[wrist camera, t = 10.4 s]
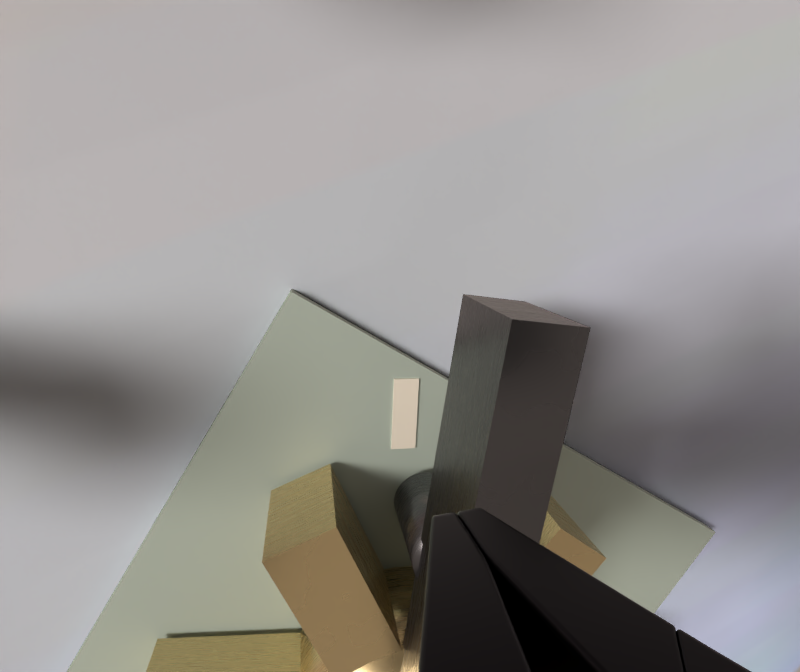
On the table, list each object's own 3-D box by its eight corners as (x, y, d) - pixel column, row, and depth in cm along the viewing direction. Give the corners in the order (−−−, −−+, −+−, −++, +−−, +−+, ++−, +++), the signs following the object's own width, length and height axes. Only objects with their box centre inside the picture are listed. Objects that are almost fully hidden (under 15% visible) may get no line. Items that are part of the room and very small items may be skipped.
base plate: (455, 857, 27) (459, 874, 27) (10, 766, 20) (0, 785, 20) (705, 524, 25) (717, 533, 24) (291, 289, 18) (291, 292, 17)
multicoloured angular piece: (151, 830, 21) (77, 1122, 15) (170, 245, 16) (63, 270, 9) (550, 781, 26) (639, 988, 19) (680, 308, 20) (878, 358, 13)
